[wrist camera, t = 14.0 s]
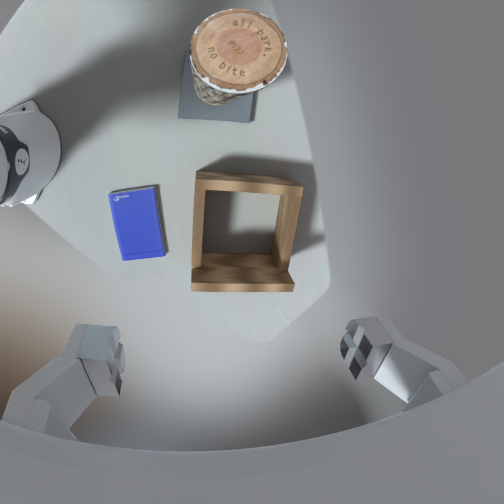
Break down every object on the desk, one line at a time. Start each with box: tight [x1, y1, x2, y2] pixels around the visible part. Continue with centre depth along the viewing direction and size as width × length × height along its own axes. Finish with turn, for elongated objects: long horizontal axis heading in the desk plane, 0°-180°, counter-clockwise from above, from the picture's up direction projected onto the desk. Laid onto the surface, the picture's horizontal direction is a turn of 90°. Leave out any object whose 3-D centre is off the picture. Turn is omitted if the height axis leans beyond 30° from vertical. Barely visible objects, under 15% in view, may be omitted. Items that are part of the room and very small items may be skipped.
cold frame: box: [191, 171, 304, 292], centre depth 45 cm, size 16×16×10 cm
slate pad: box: [178, 51, 253, 123], centre depth 38 cm, size 11×11×1 cm
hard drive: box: [108, 186, 166, 261], centre depth 46 cm, size 2×8×12 cm
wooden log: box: [189, 8, 288, 106], centre depth 27 cm, size 7×7×25 cm
